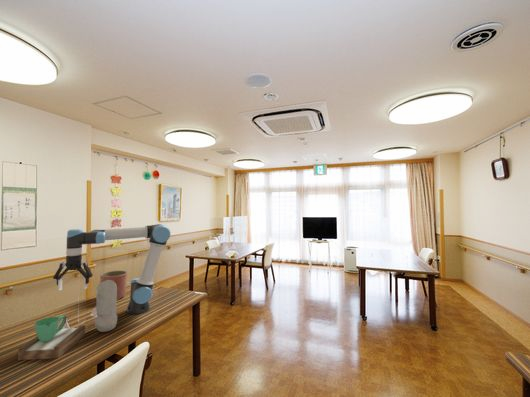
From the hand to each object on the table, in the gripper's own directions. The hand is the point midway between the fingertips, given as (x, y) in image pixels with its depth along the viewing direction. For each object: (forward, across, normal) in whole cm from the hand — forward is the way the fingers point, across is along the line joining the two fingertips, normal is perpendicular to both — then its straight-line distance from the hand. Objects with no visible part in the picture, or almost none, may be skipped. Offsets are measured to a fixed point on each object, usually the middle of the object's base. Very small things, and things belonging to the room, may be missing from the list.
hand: (72, 289), depth 148 cm
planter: (+25, -2, -54) cm, 59 cm away
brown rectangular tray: (+24, -1, +17) cm, 30 cm away
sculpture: (+25, -20, +2) cm, 32 cm away
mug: (+20, +1, +17) cm, 26 cm away
